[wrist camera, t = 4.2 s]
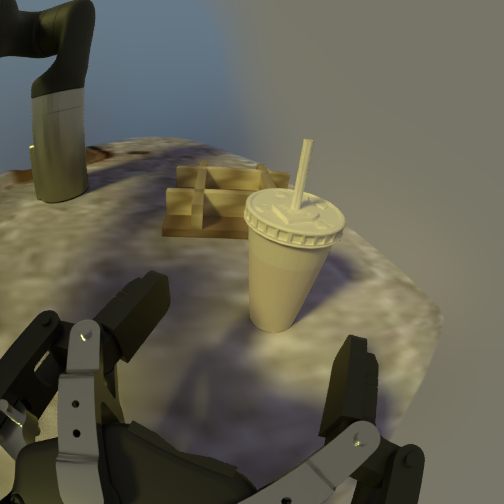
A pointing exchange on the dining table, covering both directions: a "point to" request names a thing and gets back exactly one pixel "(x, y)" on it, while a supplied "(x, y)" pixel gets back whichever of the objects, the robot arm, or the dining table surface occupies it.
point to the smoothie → (287, 247)
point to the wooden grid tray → (215, 199)
